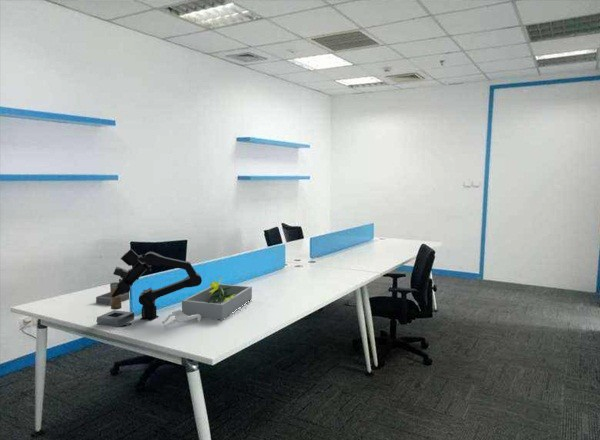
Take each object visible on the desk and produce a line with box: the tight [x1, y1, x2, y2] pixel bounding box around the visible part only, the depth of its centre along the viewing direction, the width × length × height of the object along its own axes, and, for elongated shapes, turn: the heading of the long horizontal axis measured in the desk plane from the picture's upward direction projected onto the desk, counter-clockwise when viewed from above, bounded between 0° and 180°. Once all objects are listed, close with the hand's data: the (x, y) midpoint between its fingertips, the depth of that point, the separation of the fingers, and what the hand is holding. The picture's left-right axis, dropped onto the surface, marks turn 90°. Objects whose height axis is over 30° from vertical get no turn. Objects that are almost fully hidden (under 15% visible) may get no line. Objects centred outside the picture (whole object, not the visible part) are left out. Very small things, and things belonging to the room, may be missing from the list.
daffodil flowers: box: [208, 276, 235, 304], centre depth 235 cm, size 17×15×35 cm
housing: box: [96, 309, 135, 328], centre depth 210 cm, size 12×12×4 cm
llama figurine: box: [161, 309, 202, 329], centre depth 208 cm, size 2×11×18 cm
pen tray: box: [95, 291, 130, 306], centre depth 248 cm, size 12×18×4 cm, turn 164°
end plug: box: [109, 281, 122, 311], centre depth 211 cm, size 5×5×12 cm
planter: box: [181, 283, 253, 321], centre depth 236 cm, size 23×39×8 cm, turn 164°
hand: (112, 295), depth 210 cm, fingers closed on end plug, 5 cm apart
